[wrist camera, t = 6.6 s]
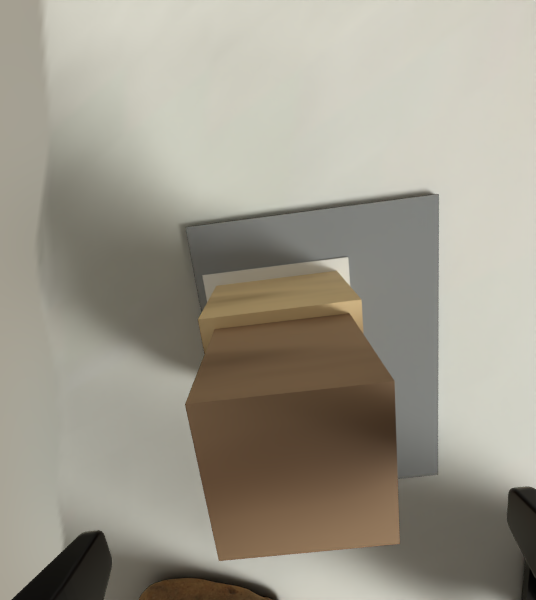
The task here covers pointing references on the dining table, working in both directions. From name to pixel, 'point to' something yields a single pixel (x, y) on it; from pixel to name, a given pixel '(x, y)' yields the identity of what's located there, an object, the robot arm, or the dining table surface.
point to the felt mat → (363, 280)
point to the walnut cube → (295, 439)
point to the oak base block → (279, 302)
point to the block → (197, 591)
